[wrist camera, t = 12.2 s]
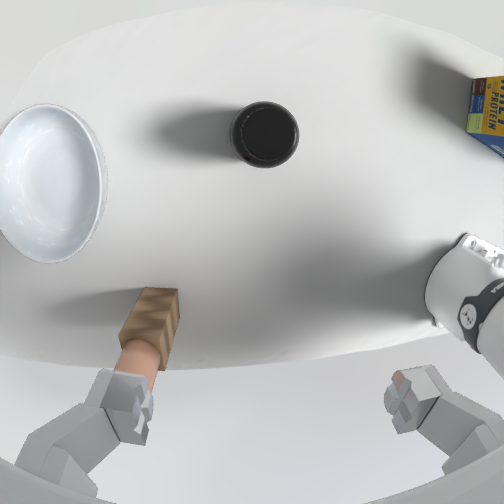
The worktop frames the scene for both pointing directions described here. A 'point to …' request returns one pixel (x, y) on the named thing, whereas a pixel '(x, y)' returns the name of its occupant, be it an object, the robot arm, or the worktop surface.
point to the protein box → (487, 112)
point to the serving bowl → (50, 183)
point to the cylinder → (140, 360)
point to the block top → (148, 335)
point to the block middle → (156, 314)
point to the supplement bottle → (264, 134)
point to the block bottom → (162, 299)
